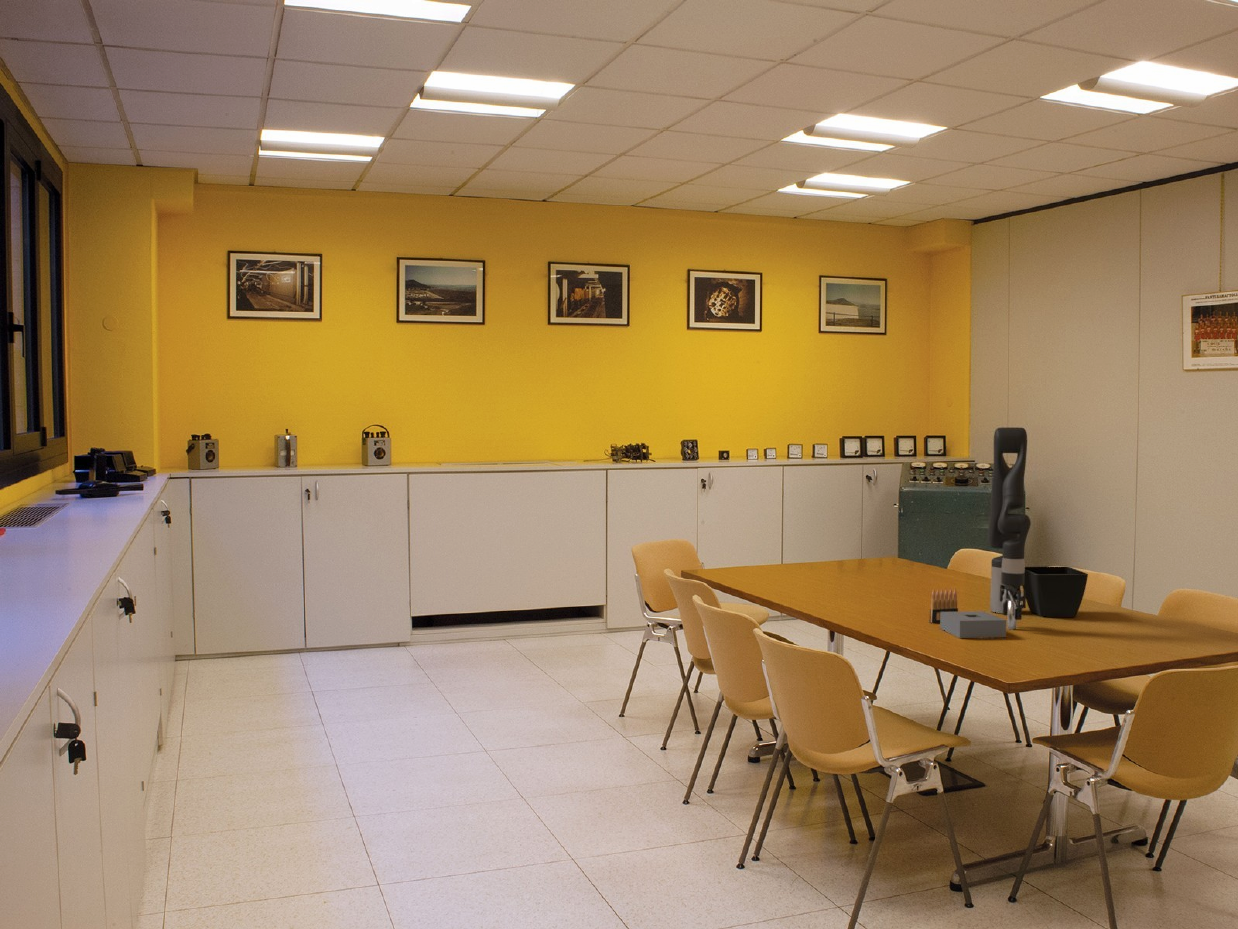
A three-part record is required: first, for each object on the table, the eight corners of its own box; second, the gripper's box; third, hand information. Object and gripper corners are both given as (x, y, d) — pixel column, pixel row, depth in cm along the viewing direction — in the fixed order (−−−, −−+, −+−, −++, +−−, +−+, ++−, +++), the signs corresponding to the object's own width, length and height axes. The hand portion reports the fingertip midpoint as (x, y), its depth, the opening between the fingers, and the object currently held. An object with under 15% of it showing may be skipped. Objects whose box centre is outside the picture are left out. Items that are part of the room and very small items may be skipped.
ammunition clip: (932, 623, 366) (932, 590, 366) (929, 622, 368) (929, 589, 368) (958, 622, 369) (959, 589, 369) (955, 621, 371) (956, 588, 370)
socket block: (940, 629, 357) (940, 611, 357) (984, 628, 359) (984, 611, 358) (959, 638, 341) (960, 620, 341) (1005, 638, 343) (1006, 620, 343)
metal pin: (1005, 628, 359) (1006, 599, 358) (1013, 628, 359) (1014, 599, 359) (1009, 630, 356) (1010, 601, 355) (1018, 630, 356) (1018, 601, 356)
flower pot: (1035, 619, 376) (1036, 573, 375) (1017, 609, 395) (1018, 566, 394) (1088, 619, 375) (1089, 574, 375) (1067, 610, 394) (1068, 566, 393)
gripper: (1033, 574, 350) (1032, 621, 351) (1013, 568, 364) (1012, 613, 365) (1012, 574, 349) (1011, 621, 350) (993, 568, 363) (992, 613, 364)
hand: (1012, 617), depth 357 cm, fingers open, 8 cm apart
